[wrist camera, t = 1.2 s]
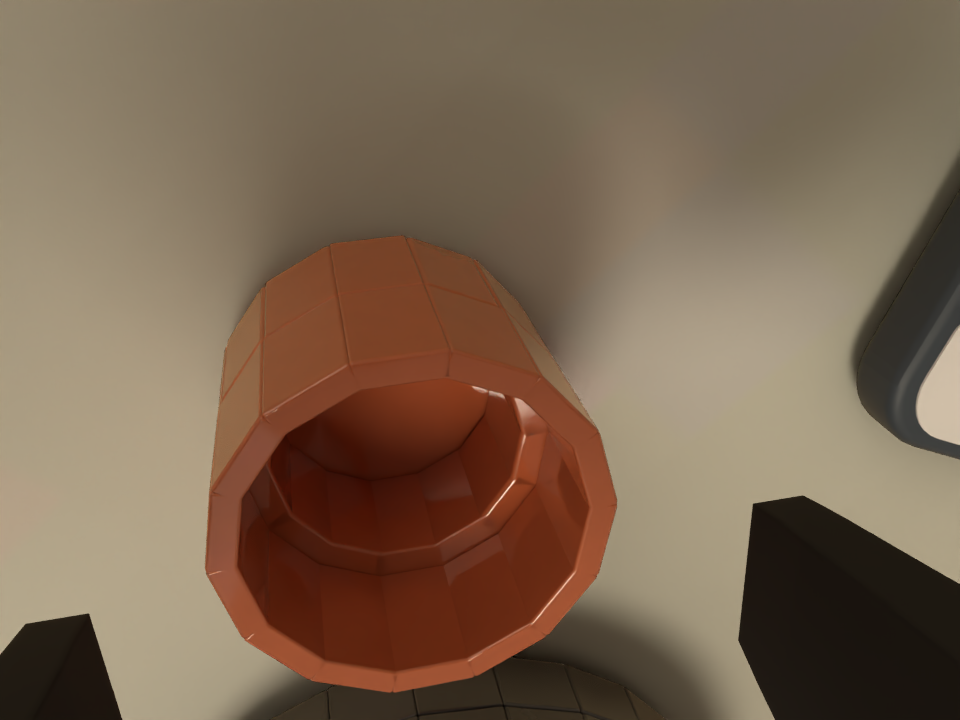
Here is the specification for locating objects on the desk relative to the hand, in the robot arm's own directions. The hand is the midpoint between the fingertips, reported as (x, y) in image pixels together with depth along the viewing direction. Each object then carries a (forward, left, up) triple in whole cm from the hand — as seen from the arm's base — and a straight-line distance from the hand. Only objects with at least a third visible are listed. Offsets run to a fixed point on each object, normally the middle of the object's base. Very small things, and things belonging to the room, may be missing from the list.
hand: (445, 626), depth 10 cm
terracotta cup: (0, 0, -7) cm, 7 cm away
